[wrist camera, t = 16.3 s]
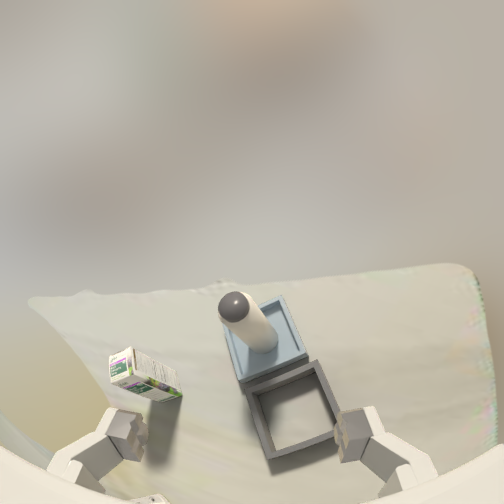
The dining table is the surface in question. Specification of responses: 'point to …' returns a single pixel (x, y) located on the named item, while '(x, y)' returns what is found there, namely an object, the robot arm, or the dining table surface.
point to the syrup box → (143, 375)
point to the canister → (247, 322)
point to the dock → (278, 382)
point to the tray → (281, 356)
